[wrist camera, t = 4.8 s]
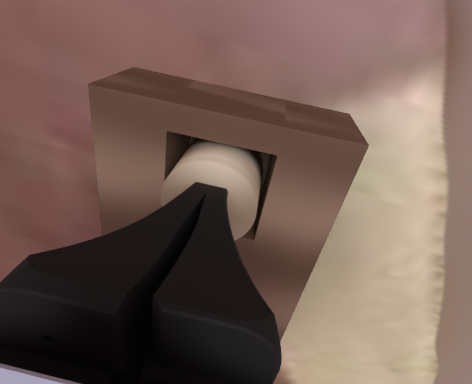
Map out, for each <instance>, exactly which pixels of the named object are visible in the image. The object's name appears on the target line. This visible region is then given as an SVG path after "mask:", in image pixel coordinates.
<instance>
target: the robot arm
mask: <svg viewBox="0 0 472 384" xmlns="http://www.w3.org/2000/svg"><path fill="white" fill-rule="evenodd" d="M227 195H228V191H227V189H226V188H222V187H217V186H213V185H208V184H204V183H199V182H195V183H194V184H192V185H191V186H190V187H188V188H187V189H186V190H185V191H183V192H182V193H181V194H179V195H178V196H177V197H175V198H174V199H173V200H171V201H170V202H168V203H167V204H165V205H164V206H162V207H161V208H159V209H158V210H156V211H154V212H153V213H151V214H149V215H148V216H146V217H144V218H142V219H140V220H139V221H137V222H134V223H132V224H130V225H128V226H126V227H124V228H121V229H118V230H116V231H113V232H111V233H108V234H106V235H103V236H100V237H98V238H94V239H91V240H88V241H85V242H82V243H78V244H75V245H71V246H67V247H63V248H59V249H55V250H50V251H46V252H41V253H37V254H32V255H29V256H28V257H27V258H26V259H25V260H24V261H22V262H21V263H20V264H19V265H18V266H17V267H16V268H15V269H14V270H13V271H12V272H11V273H10V274H9V275H8V276H6V277H5V278H4V279H3V280H2V281H1V282H0V384H273V382H274V380H275V378H276V376H277V374H278V372H279V370H280V366H281V346H280V338H279V333H278V327H277V323H276V319H275V315H274V313H273V312H272V310H271V309H270V308H269V306H268V305H267V303H266V302H265V301H264V299H263V298H262V296H261V295H260V293H259V291H258V290H257V288H256V287H255V285H254V283H253V282H252V280H251V278H250V276H249V274H248V272H247V270H246V268H245V266H244V264H243V262H242V260H241V257H240V255H239V253H238V250H237V247H236V244H235V241H234V238H233V235H232V231H231V227H230V223H229V217H228V210H227Z"/></svg>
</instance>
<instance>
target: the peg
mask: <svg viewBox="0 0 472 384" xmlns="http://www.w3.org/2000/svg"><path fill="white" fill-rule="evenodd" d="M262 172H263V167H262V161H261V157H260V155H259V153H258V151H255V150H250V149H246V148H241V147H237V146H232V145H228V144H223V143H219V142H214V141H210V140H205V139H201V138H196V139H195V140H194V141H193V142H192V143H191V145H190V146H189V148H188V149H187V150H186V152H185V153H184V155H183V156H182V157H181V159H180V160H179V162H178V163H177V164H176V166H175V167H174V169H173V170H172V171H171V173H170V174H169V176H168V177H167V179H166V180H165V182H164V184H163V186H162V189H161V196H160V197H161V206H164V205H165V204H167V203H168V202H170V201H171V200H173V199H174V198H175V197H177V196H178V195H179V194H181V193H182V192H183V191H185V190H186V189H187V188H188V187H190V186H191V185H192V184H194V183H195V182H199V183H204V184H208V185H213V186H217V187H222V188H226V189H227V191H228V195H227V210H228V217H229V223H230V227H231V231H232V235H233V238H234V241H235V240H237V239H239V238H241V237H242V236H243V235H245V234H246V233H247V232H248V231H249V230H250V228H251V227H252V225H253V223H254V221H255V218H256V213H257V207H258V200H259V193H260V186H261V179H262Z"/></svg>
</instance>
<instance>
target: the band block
mask: <svg viewBox="0 0 472 384" xmlns="http://www.w3.org/2000/svg"><path fill="white" fill-rule="evenodd" d="M88 89H89V100H90V110H91V121H92V131H93V142H94V152H95V163H96V173H97V183H98V194H99V204H100V215H101V225H102V236H103V235H106V234H108V233H111V232H113V231H116V230H118V229H121V228H124V227H126V226H128V225H130V224H132V223H134V222H137V221H139V220H140V219H142V218H144V217H146V216H148V215H149V214H151V213H153V212H154V211H156V210H158V209H159V208H161V207H162V206H161V197H160V196H161V189H162V186H163V184H164V182H165V180H166V179H167V177H168V176H169V174H170V173H171V171H172V170H173V169H174V167H175V166H176V164H177V163H178V162H179V160H180V159H181V157H182V156H183V155H184V153H185V152H186V150H187V149H188V148H189V140H190V136H192V137H196V138H201V139H205V140H210V141H214V142H219V143H223V144H228V145H232V146H237V147H241V148H246V149H250V150H255V151H259V152H264V153H268V154H271V158H270V162H269V165H268V169H267V173H266V177H265V181H264V184H263V188H262V192H261V196H259V200H258V207H257V213H256V218H255V221H254V223H253V225H252V227H251V228H250V230H249V231H248V232H247V233H246V234H245V235H243V236H242V237H241V238H239V239H237V240H235V244H236V247H237V250H238V253H239V255H240V257H241V260H242V262H243V264H244V266H245V268H246V270H247V272H248V274H249V276H250V278H251V280H252V282H253V283H254V285H255V287H256V288H257V290H258V291H259V293H260V295H261V296H262V298H263V299H264V301H265V302H266V303H267V305H268V306H269V308H270V309H271V310H272V312H273V313H274V315H275V319H276V323H277V327H278V333H279V338H280V341H281V338H282V336H283V334H284V332H285V330H286V327H287V325H288V323H289V321H290V319H291V316H292V314H293V312H294V310H295V308H296V305H297V303H298V301H299V299H300V297H301V294H302V292H303V290H304V288H305V285H306V283H307V281H308V279H309V277H310V274H311V272H312V270H313V268H314V266H315V263H316V261H317V259H318V257H319V255H320V252H321V250H322V248H323V246H324V244H325V241H326V239H327V237H328V235H329V232H330V230H331V228H332V226H333V224H334V221H335V219H336V217H337V215H338V213H339V210H340V208H341V206H342V204H343V202H344V199H345V197H346V195H347V193H348V191H349V188H350V186H351V184H352V182H353V179H354V177H355V175H356V173H357V171H358V168H359V166H360V164H361V162H362V160H363V157H364V155H365V153H366V151H367V149H368V146H369V145H368V143H367V142H366V140H365V138H364V137H363V135H362V134H361V132H360V130H359V129H358V127H357V125H356V124H355V122H354V121H353V119H352V117H351V116H350V114H347V113H342V112H338V111H333V110H328V109H324V108H319V107H314V106H310V105H305V104H300V103H296V102H291V101H287V100H282V99H277V98H273V97H268V96H263V95H259V94H254V93H250V92H245V91H240V90H236V89H231V88H226V87H222V86H217V85H213V84H208V83H203V82H199V81H194V80H189V79H185V78H180V77H176V76H171V75H166V74H162V73H157V72H152V71H148V70H143V69H139V68H134V67H133V68H130V69H127V70H125V71H122V72H119V73H117V74H114V75H111V76H108V77H106V78H103V79H100V80H98V81H95V82H92V83H90V84H88Z"/></svg>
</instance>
